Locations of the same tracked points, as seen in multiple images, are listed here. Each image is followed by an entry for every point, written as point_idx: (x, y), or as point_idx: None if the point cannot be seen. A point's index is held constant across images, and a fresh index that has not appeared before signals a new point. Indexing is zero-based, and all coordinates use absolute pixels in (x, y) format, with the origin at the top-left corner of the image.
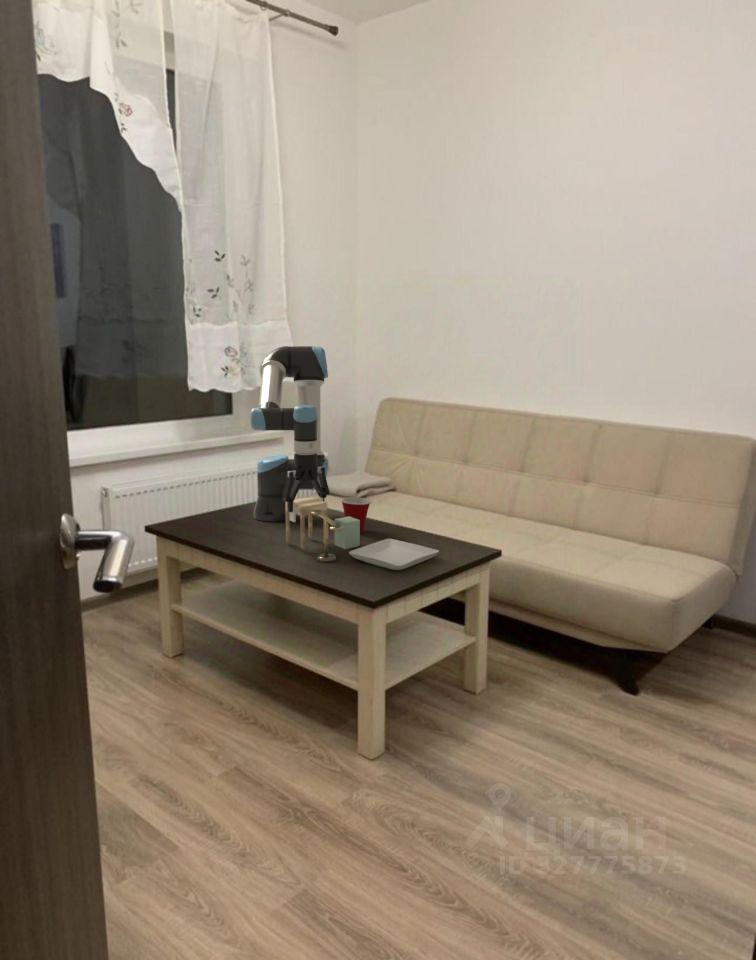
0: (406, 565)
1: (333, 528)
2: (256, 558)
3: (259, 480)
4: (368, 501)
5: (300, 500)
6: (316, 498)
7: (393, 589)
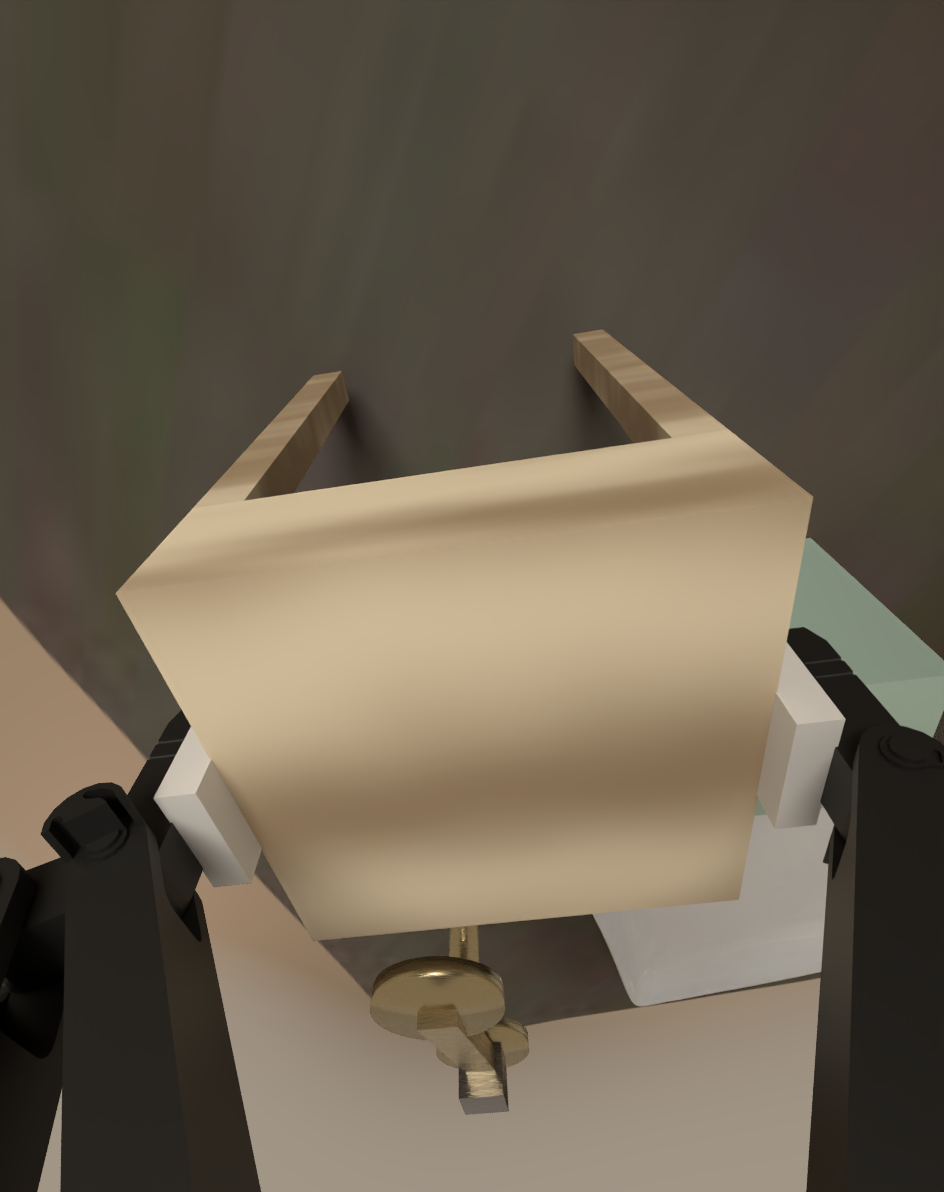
0: (682, 982)
1: (448, 1062)
2: (28, 583)
3: None
4: None
5: (441, 673)
6: (779, 701)
7: (521, 1018)
